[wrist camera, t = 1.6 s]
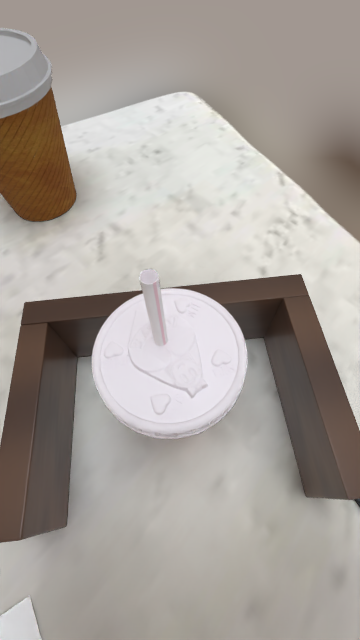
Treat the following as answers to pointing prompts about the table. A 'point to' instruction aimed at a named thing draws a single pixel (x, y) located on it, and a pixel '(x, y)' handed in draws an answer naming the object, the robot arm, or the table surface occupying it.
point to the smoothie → (169, 361)
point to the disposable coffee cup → (31, 133)
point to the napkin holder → (19, 622)
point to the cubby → (78, 341)
